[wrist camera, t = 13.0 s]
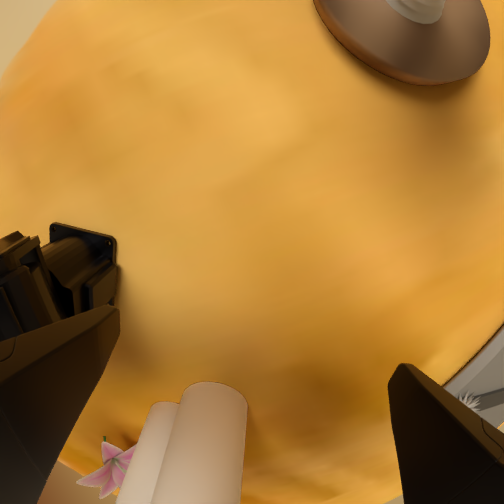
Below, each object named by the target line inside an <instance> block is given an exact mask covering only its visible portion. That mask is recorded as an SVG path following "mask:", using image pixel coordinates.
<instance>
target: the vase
mask: <svg viewBox="0 0 504 504" xmlns="http://www.w3.org/2000/svg"><path fill="white" fill-rule="evenodd" d="M247 411H248V404H247V402H246V399H245V398H244V397H243V396H242V394H241V393H240V392H238V391H237V390H235V389H233V388H232V387H230V386H227V385H224V384H221V383H216V382H198V383H195V384H192V385H190V386H189V387H188V388H186V389H185V390H184V393H183V395H182V398H181V401H180V404H177V403H174V402H168V401H163V402H158V403H155V404H154V405H152V406H151V409H150V411H149V414H148V416H147V419H146V421H145V424H144V427H143V429H142V432H141V434H140V437H139V440H138V442H137V445H136V448H135V450H134V453H133V456H132V458H131V461H130V464H129V466H128V469H127V472H126V475H125V477H124V480H123V483H122V486H121V489H120V491H119V494H118V497H117V500H116V503H115V504H240V499H241V487H242V474H243V462H244V449H245V437H246V424H247Z"/></svg>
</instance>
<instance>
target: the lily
mask: <svg viewBox="0 0 504 504" xmlns="http://www.w3.org/2000/svg"><path fill="white" fill-rule="evenodd" d="M103 437H104V442H102V459H103V463H104V466H102V467H101V468H100V469H98V470H96V471H95V472H93V473H91V474H89V475H87V476H85V477H83V478H81V479H79V480H77V482H76V483H77V484H79V485H83V486H89V487H101V490H100V495H99V499H102V498H104V497H106V496H107V495H109V494H111V493H112V492H113V491H115V490H116V489H117V488H118V487H119V488H120V489H121V486H122V483H123V480H124V477H125V475H126V472H127V469H128V466H129V464H130V461H131V458H132V456H133V453H134V450H135V448H136V445H137V444H136V445H134V446H133V447H131V448H130V449H128V450H127V451H125V452H124V451H123V450H121V449H120V448H118V447H116V446H114V445H112V444H110V443H107V442H106V437H105V436H103Z"/></svg>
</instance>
